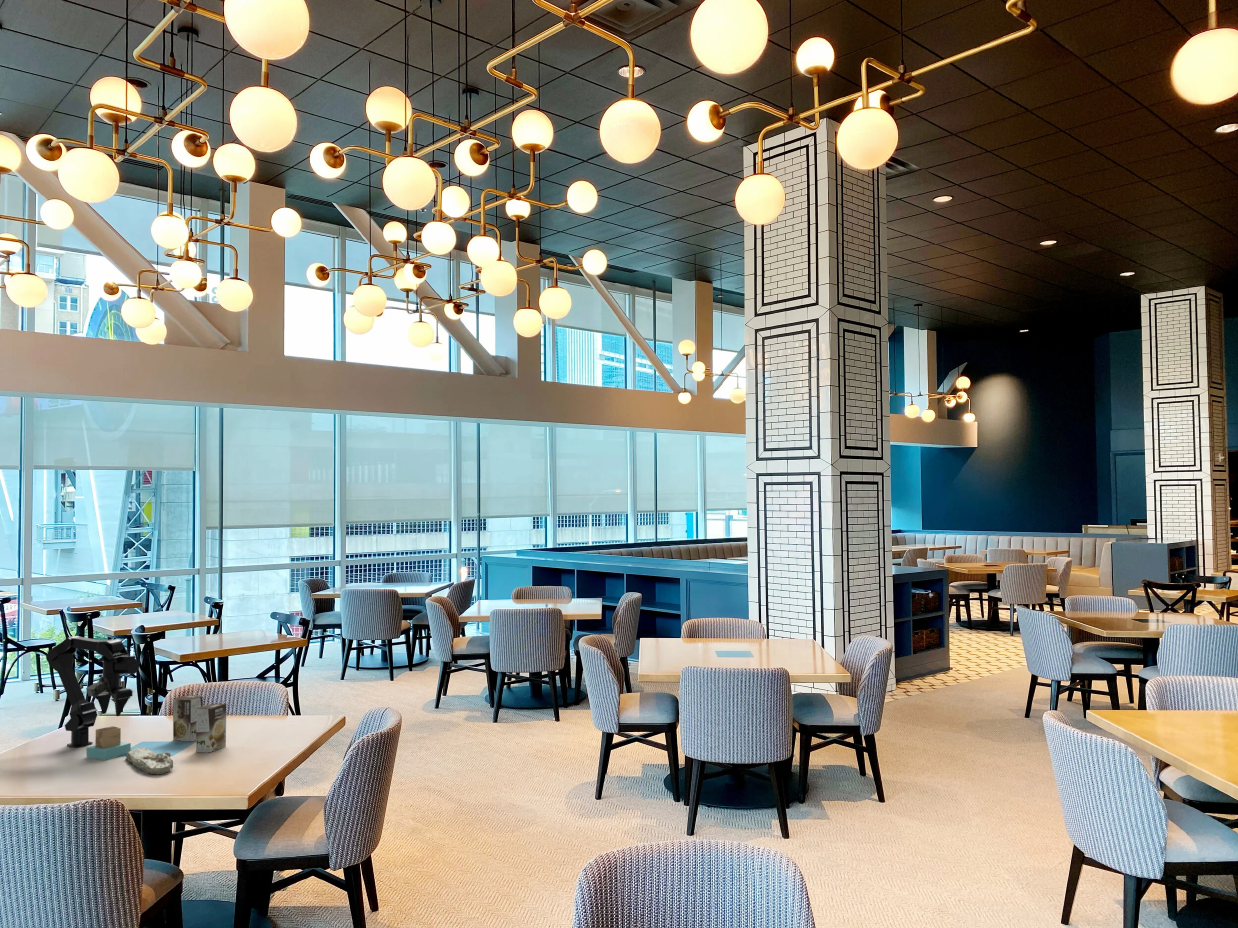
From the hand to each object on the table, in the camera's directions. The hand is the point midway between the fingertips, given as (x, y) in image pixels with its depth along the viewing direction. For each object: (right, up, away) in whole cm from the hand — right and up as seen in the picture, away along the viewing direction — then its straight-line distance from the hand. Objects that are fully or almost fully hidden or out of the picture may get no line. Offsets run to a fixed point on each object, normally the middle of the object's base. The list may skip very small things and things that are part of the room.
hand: (111, 714), depth 338 cm
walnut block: (+6, -8, -12) cm, 16 cm away
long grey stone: (+28, -11, -26) cm, 39 cm away
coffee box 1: (+25, -12, +9) cm, 29 cm away
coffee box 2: (+41, -11, -6) cm, 43 cm away
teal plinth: (+6, -12, -12) cm, 18 cm away
